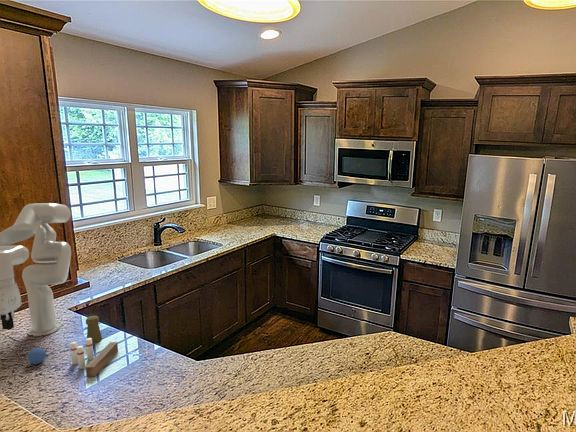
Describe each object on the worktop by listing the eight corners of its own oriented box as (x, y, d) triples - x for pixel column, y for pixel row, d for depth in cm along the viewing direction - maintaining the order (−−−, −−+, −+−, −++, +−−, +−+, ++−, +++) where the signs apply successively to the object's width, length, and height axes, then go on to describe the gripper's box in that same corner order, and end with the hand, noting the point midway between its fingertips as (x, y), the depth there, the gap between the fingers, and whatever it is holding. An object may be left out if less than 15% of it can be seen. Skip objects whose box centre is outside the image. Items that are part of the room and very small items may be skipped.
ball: (29, 361, 145) (27, 347, 144) (47, 357, 148) (45, 343, 147) (27, 368, 140) (25, 354, 139) (46, 364, 142) (44, 350, 141)
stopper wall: (86, 377, 134) (85, 367, 134) (110, 351, 152) (110, 342, 151) (94, 377, 134) (93, 367, 134) (118, 351, 152) (117, 342, 151)
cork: (98, 335, 165) (96, 312, 163) (104, 339, 161) (102, 316, 160) (84, 340, 161) (81, 317, 159) (90, 345, 157) (87, 321, 155)
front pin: (72, 362, 144) (70, 342, 142) (79, 360, 145) (76, 341, 144) (72, 365, 142) (69, 345, 140) (78, 363, 143) (76, 343, 142)
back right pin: (78, 366, 141) (76, 346, 139) (85, 365, 142) (83, 345, 140) (78, 370, 139) (76, 349, 137) (85, 368, 140) (83, 347, 138)
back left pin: (87, 358, 147) (85, 338, 145) (93, 356, 148) (91, 337, 146) (87, 361, 145) (85, 341, 143) (94, 359, 146) (92, 339, 144)
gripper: (-4, 289, 131) (2, 337, 133) (26, 276, 145) (31, 320, 148) (-25, 289, 131) (-18, 337, 134) (8, 276, 146) (13, 320, 148)
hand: (8, 328), depth 141 cm, fingers closed
